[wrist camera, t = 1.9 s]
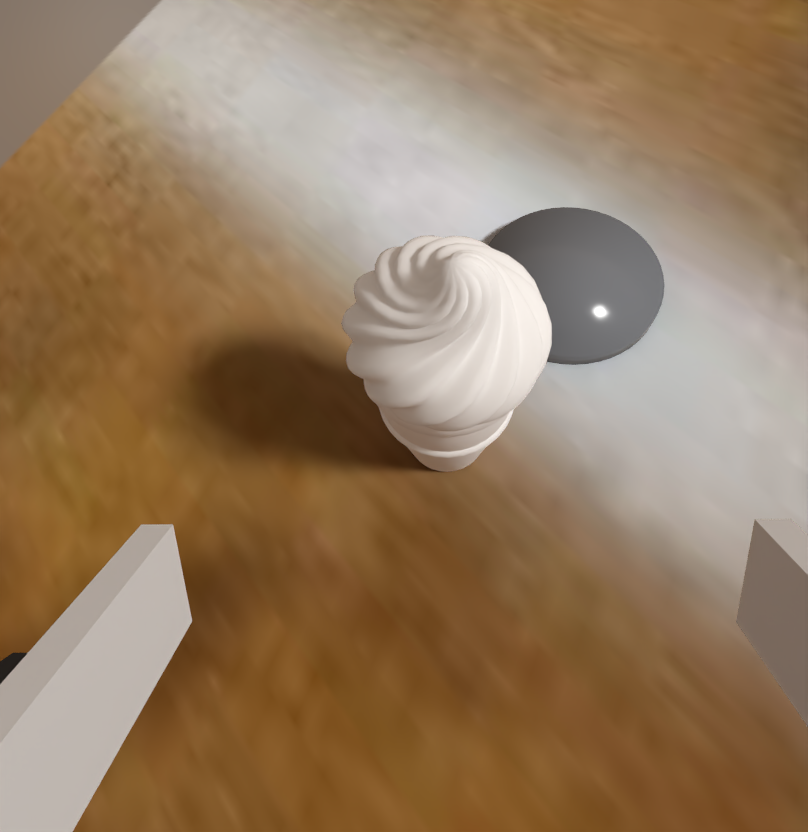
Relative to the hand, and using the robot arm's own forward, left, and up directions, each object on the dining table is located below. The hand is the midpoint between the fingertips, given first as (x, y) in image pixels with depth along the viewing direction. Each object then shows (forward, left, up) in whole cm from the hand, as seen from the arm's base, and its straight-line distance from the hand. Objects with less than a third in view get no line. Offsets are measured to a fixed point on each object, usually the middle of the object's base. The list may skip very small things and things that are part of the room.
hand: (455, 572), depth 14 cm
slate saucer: (-14, +17, -18) cm, 28 cm away
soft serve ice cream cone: (-9, +5, -18) cm, 21 cm away
